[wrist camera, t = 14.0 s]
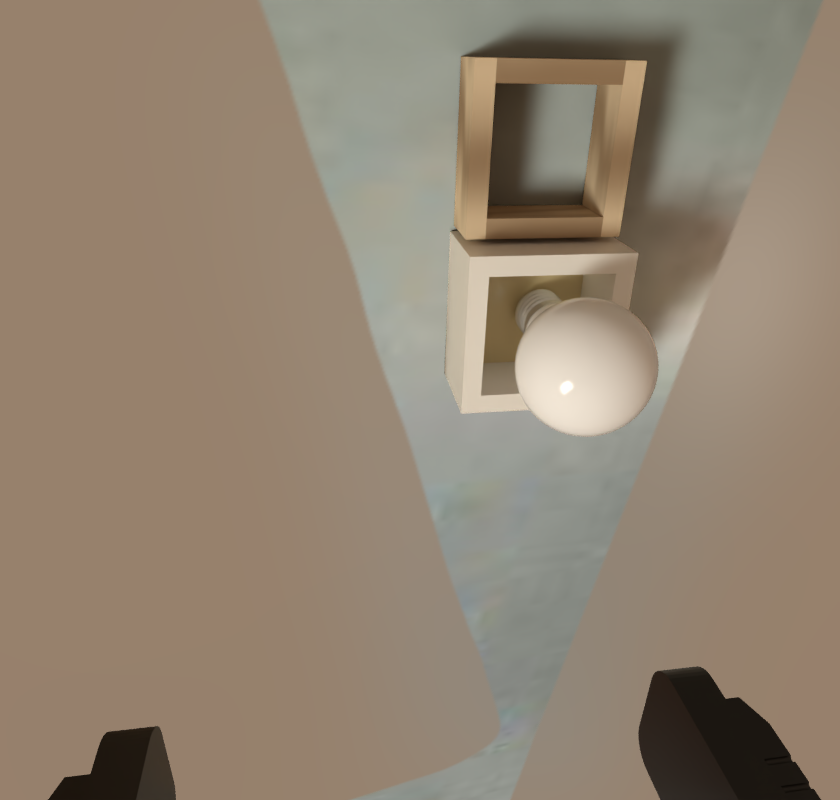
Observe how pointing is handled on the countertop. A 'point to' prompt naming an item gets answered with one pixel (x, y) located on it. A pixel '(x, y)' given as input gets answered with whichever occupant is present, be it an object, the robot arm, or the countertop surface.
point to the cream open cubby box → (499, 295)
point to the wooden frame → (605, 158)
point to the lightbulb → (583, 363)
